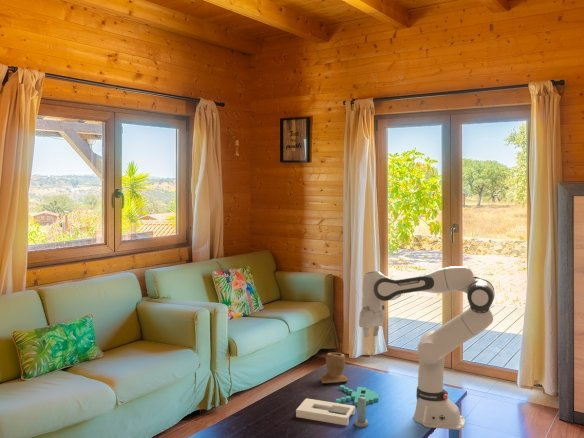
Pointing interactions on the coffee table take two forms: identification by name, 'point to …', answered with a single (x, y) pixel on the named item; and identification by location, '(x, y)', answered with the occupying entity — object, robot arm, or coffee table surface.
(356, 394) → the alien figure
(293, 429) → the coffee table surface
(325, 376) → the stone cup
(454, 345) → the robot arm
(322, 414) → the keyhole track
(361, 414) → the round-topped green peg
